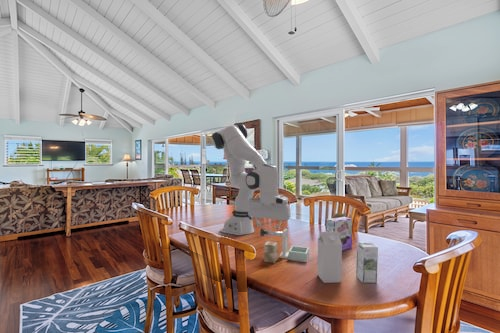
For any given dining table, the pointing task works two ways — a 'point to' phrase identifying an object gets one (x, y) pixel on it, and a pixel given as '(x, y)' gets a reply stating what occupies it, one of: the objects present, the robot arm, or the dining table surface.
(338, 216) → the fruit
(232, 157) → the robot arm
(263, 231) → the shaft
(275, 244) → the block
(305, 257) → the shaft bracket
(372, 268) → the syrup box
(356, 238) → the dining table surface
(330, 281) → the milk carton
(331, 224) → the candy box
